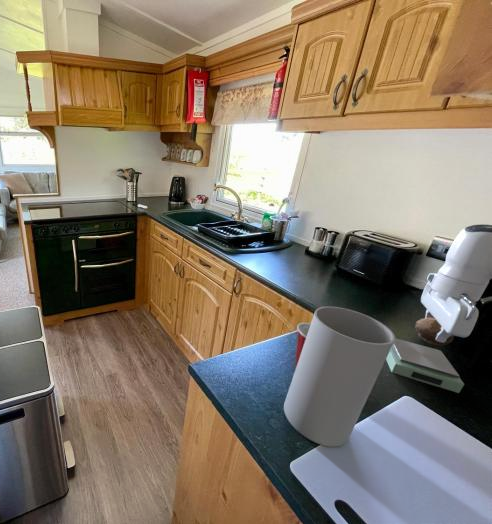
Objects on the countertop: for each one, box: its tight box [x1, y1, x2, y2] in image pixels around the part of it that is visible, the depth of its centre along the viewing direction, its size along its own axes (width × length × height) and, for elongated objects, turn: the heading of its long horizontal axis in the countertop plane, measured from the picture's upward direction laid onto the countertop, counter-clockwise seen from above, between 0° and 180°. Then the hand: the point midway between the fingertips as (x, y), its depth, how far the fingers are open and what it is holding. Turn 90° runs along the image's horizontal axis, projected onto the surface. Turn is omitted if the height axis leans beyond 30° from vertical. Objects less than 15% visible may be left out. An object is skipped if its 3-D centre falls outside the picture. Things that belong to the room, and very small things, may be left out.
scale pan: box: [392, 337, 460, 378], centre depth 81 cm, size 12×12×1 cm
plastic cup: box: [295, 322, 311, 368], centre depth 76 cm, size 11×11×12 cm
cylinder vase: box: [283, 306, 396, 447], centre depth 58 cm, size 12×12×25 cm
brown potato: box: [414, 317, 455, 346], centre depth 79 cm, size 8×8×6 cm
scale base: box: [385, 346, 465, 394], centre depth 82 cm, size 14×14×4 cm
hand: (433, 332), depth 78 cm, fingers closed on brown potato, 6 cm apart
